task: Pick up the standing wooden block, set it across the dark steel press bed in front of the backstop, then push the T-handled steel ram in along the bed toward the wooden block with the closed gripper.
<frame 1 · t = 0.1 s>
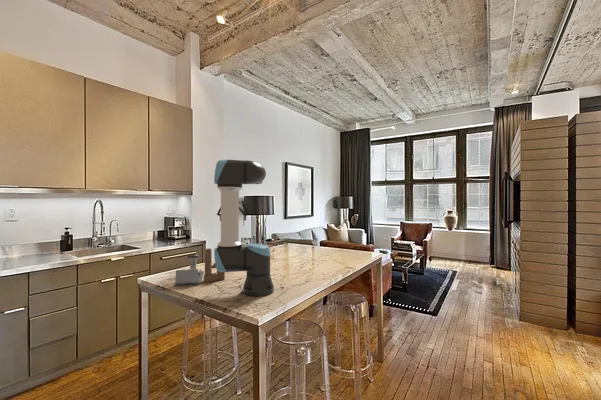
hand: (233, 225, 184), 28 cm above the table, tool pointing down, fingers open, 13 cm apart
ram: (192, 264, 168), point 6 cm above the table, slide at 0.0 cm
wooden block: (214, 280, 158), on the table
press: (190, 279, 160), on the table
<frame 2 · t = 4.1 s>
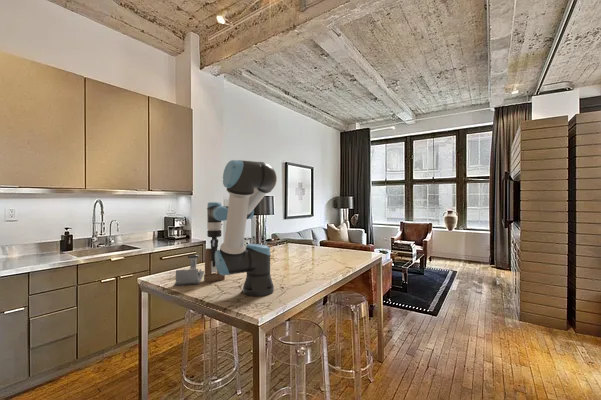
hand: (214, 270, 158), 5 cm above the table, tool pointing down, fingers closed on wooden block, 4 cm apart
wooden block: (214, 280, 158), on the table, touching gripper
everything else where it was.
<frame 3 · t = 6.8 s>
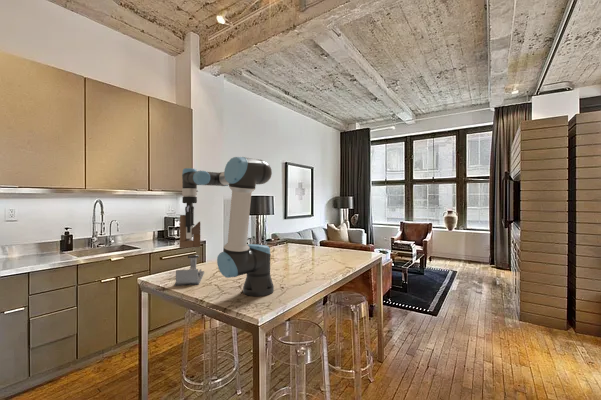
hand: (189, 237, 157), 24 cm above the table, tool pointing down, fingers closed on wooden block, 4 cm apart
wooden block: (190, 247, 157), point 19 cm above the table, touching gripper
everything else where it was.
when the fingers open (7 cm above the table, at t = 10.0 s): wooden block stays where it is, resting on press.
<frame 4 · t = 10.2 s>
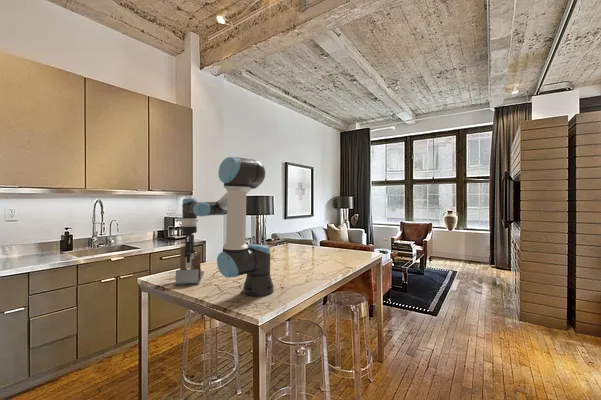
hand: (189, 266, 158), 8 cm above the table, tool pointing down, fingers open, 7 cm apart
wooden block: (190, 278, 157), point 1 cm above the table, touching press
everything else where it was.
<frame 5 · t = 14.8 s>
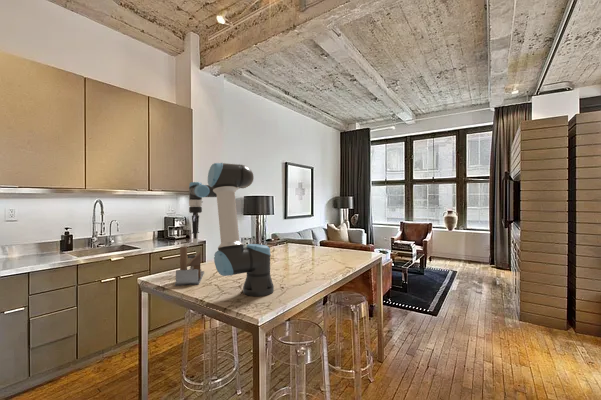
hand: (195, 243, 179), 17 cm above the table, tool pointing down, fingers closed
nothing on the table moved.
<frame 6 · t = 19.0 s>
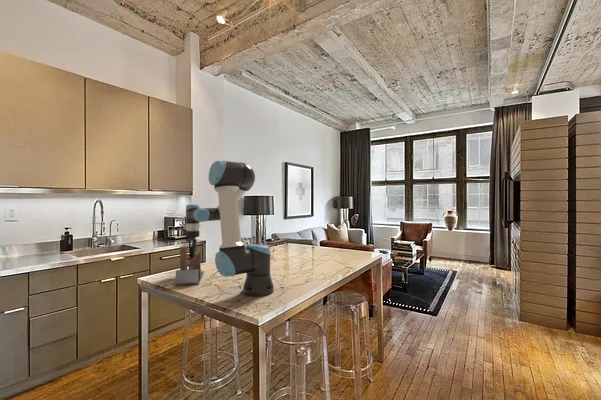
hand: (192, 269, 168), 3 cm above the table, tool pointing down, fingers closed
ram: (191, 266, 162), point 6 cm above the table, slide at 6.4 cm, touching gripper, hand
everything else where it was.
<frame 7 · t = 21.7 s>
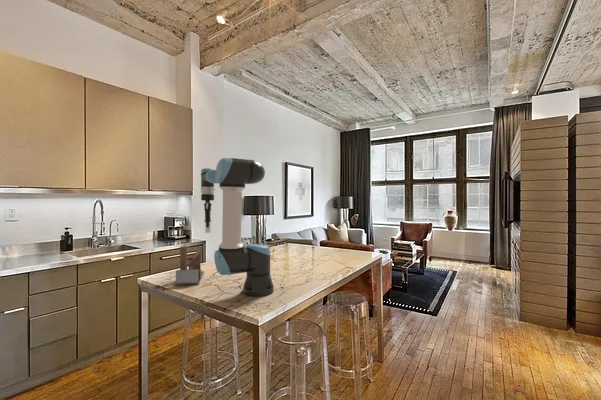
hand: (207, 232, 172), 25 cm above the table, tool pointing down, fingers closed
ram: (191, 266, 162), point 6 cm above the table, slide at 6.4 cm
everything else where it was.
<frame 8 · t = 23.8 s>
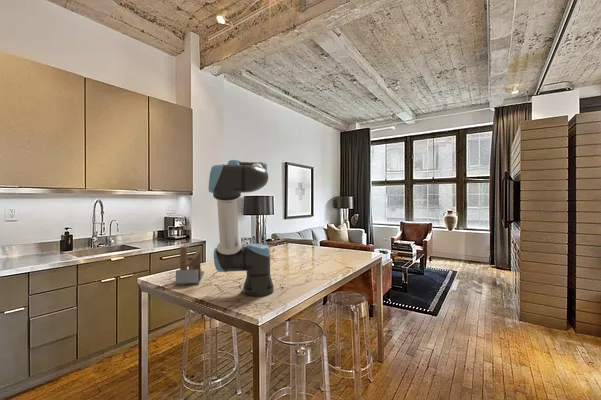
hand: (234, 226, 166), 29 cm above the table, tool pointing down, fingers closed
nothing on the table moved.
at the end: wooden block inside the target area (0.4 cm from its centre), point 1.0 cm above the table; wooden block tilted 0°; ram slide at 6.4 cm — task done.
